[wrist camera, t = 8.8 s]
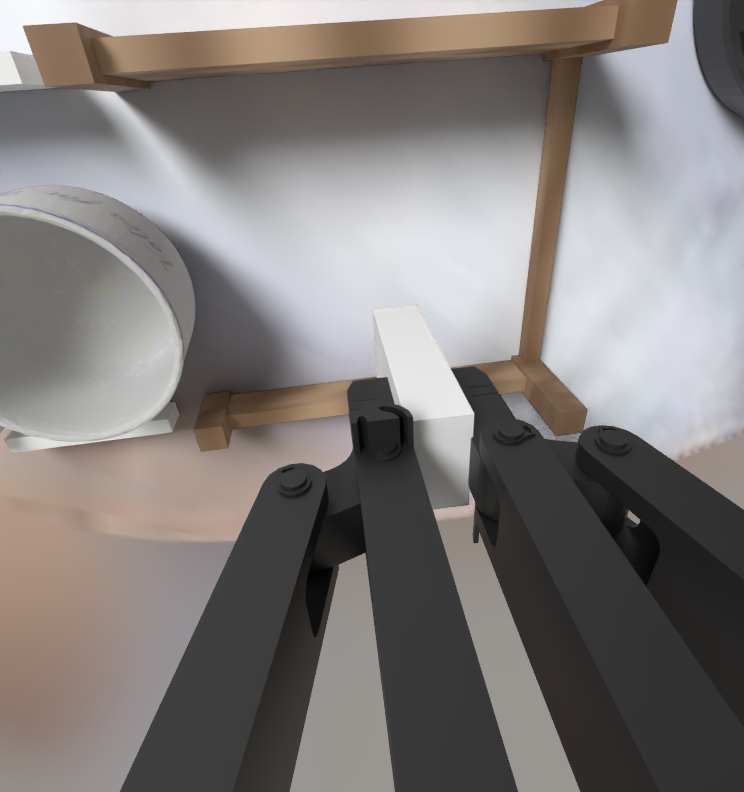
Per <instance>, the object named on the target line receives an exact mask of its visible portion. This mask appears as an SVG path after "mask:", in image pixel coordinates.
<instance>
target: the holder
mask: <svg viewBox="0 0 744 792" xmlns="http://www.w3.org/2000/svg"><path fill="white" fill-rule="evenodd" d="M47 88H57V87H45V86H44V83H43V80H42V77H41V75H40V72H39V69H38V67H37V64H36V61H35V58H34V56H33V55H28V54H22V53H17V52H12V51H5V52H0V92H5V91H19V90H33V89H47ZM178 417H179V412H178V409H177V406H176V403H175V402H169V403H168V405H167V406H166V407H165V408H164V409H163V410H162V411H161V412H160V413H159V414H158V415H157V416H156V417H154V418H153V419H152V420H151V421H149V422H148V423H146V424H144V425H143V426H141V427H139V428H137V429H135V430H133V431H130V432H128V433H126V434H123V435H120V436H117V437H112V438H108V439H103V440H98V441H80V442H67V441H55V440H50V439H45V438H38V437H33V436H29V435H25V434H22V433H19V432H16V431H11V433H10V434H9V435H8V436H7V437H6V438H5V439H4V440H5V442H6V444H7V445H8V447H9V449H10V450H11V452H12V453H15V452H23V451H31V450H38V449H46V448H54V447H62V446H69V445H77V444H85V443H93V442H101V441H108V440H116V439H124V438H132V437H140V436H147V435H155V434H163V433H171V432H173V430H174V427H175V424H176V422H177V419H178ZM3 429H4V427H2V426H0V433H1V431H2V430H3Z"/></svg>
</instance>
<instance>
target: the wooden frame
mask: <svg viewBox="0 0 744 792" xmlns="http://www.w3.org/2000/svg"><path fill="white" fill-rule="evenodd" d="M676 4H677V0H603V1H600V2H597V3H595V4H592V5H589V6H586V7H579V8H563V9H547V10H531V11H516V12H500V13H484V14H468V15H452V16H436V17H420V18H404V19H388V20H373V21H357V22H341V23H325V24H309V25H293V26H277V27H261V28H246V29H230V30H214V31H198V32H182V33H166V34H150V35H134V36H118V37H113V36H110V35H107V34H105V33H102V32H99V31H97V30H94V29H91V28H89V27H86V26H83V25H80V24H78V23H61V24H44V25H27V26H23V28H24V31H25V34H26V36H27V39H28V42H29V45H30V47H31V50H32V53H33V56H34V58H35V61H36V64H37V67H38V69H39V72H40V75H41V77H42V80H43V83H44V86H45V87H57V88H71V89H84V90H97V91H111V92H118V91H132V90H146V89H150V87H149V83H148V81H160V80H175V79H189V78H203V77H217V76H231V75H245V74H260V73H274V72H288V71H302V70H316V69H330V68H345V67H359V66H373V65H387V64H401V63H415V62H430V61H444V60H458V59H472V58H486V57H500V56H515V55H529V54H543V53H544V58H543V61H549V60H553V64H552V72H551V81H550V89H549V98H548V107H547V115H546V124H545V133H544V141H543V150H542V159H541V167H540V176H539V184H538V193H537V202H536V210H535V219H534V228H533V236H532V245H531V254H530V262H529V271H528V280H527V288H526V297H525V305H524V314H523V323H522V331H521V340H520V349H519V355H518V356H512V358H511V360H508V361H500V362H492V363H484V364H476V365H468V366H460V367H452V368H461V367H470V366H475V367H476V368H478V369H479V370H481V371H483V372H484V373H486V374H487V375H488V377H489V378H490V380H491V381H492V383H493V386H495V388H496V389H497V391H498V394H508V393H516V392H522V393H523V395H524V396H525V397H526V398H527V400H528V401H529V402H530V404H531V405H532V406H533V407H534V409H535V410H536V411H537V413H538V414H539V415H540V416H541V418H542V419H543V420H544V422H545V423H546V424H547V425H548V427H549V428H550V429H551V430H552V432H553V433H554V434H555V436H561V435H568V434H576V433H582V431H583V428H584V424H585V419H586V415H587V410H588V409H587V408H586V407H585V406H584V405H583V404H582V403H581V402H580V401H579V400H578V399H577V398H576V397H575V396H574V395H573V394H572V393H571V392H570V390H569V389H568V388H567V387H566V386H565V385H564V384H563V383H562V382H561V381H560V380H559V379H558V378H557V377H556V376H555V375H554V374H553V373H552V372H551V371H550V369H549V368H548V367H547V366H546V365H545V364H544V363H543V362H542V361H541V360H540V359H539V358H540V351H541V344H542V337H543V330H544V323H545V316H546V309H547V302H548V295H549V288H550V281H551V274H552V267H553V260H554V253H555V246H556V239H557V232H558V225H559V218H560V211H561V204H562V197H563V190H564V183H565V176H566V169H567V162H568V155H569V148H570V141H571V134H572V127H573V120H574V113H575V106H576V99H577V92H578V85H579V78H580V71H581V64H582V57H587V56H593V55H599V54H605V53H611V52H617V51H623V50H628V49H634V48H640V47H646V46H652V45H658V44H664V43H668V41H669V36H670V32H671V27H672V23H673V18H674V14H675V9H676ZM452 368H450V369H452ZM373 378H377V377H371V378H363V379H354V380H346V381H338V382H330V383H322V384H314V385H306V386H298V387H290V388H282V389H273V390H265V391H257V392H249V393H241V394H233V395H231V391H225V392H216V393H208V394H205V396H204V399H203V403H202V406H201V409H200V412H199V415H198V418H197V421H196V424H195V427H194V433H195V436H196V439H197V442H198V445H199V448H200V451H201V452H203V451H210V450H218V449H225V448H228V447H229V442H230V437H231V432H232V429H237V428H245V427H252V426H260V425H268V424H276V423H283V422H291V421H299V420H307V419H314V418H322V417H330V416H338V415H345V414H349V407H348V398H347V390H348V388H349V386H350V385H351V383H352V381H355V380H364V379H373Z"/></svg>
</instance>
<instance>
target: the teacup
mask: <svg viewBox="0 0 744 792" xmlns="http://www.w3.org/2000/svg"><path fill="white" fill-rule="evenodd" d="M195 312H196V309H195V295H194V290H193V285H192V282H191V278H190V275H189V273H188V270H187V268H186V266H185V264H184V262H183V260H182V258H181V257H180V255H179V253H178V252H177V250H176V248H175V247H174V246H173V244H172V243H171V242H170V241H169V239H168V238H167V237H166V236H165V235H164V234H163V233H162V232H161V231H160V230H159V229H158V228H157V227H156V226H155V225H154V224H153V223H152V222H151V221H149V220H148V219H147V218H146V217H144V216H143V215H142V214H140V213H139V212H137V211H136V210H134V209H133V208H131V207H129V206H127V205H126V204H124V203H122V202H120V201H118V200H116V199H114V198H111V197H108V196H106V195H103V194H101V193H98V192H94V191H91V190H87V189H82V188H78V187H71V186H63V185H41V186H32V187H26V188H21V189H16V190H12V191H9V192H5V193H2V194H0V426H2V427H4V428H7V429H9V430H11V431H16V432H19V433H22V434H25V435H29V436H33V437H38V438H45V439H50V440H55V441H67V442H80V441H98V440H103V439H108V438H112V437H117V436H120V435H123V434H126V433H128V432H130V431H133V430H135V429H137V428H139V427H141V426H143V425H144V424H146V423H148V422H149V421H151V420H152V419H153V418H154V417H156V416H157V415H158V414H159V413H160V412H161V411H162V410H163V409H164V408H165V407H166V406H167V405H168V403H169V402H170V400H171V399H172V397H173V395H174V393H175V391H176V389H177V387H178V385H179V383H180V379H181V376H182V372H183V368H184V359H185V357H186V354H187V350H188V347H189V344H190V340H191V337H192V333H193V329H194V322H195Z"/></svg>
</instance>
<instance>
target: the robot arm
mask: <svg viewBox="0 0 744 792" xmlns="http://www.w3.org/2000/svg"><path fill="white" fill-rule="evenodd" d="M694 30H695V39H696V46H697V51H698V55H699V60H700V63H701V66H702V69H703V72H704V74H705V77H706V79H707V81H708V83H709V85H710V87H711V88H712V90H713V91H714V93H715V94H716V96H717V97H718V98H719V99H720V101H721V102H722V103H723V104H724V105H725V106H726V107H727V108H729V109H730V110H731V111H732V112H734V113H735V114H737V115H739V116H740V117H742V118H744V0H694ZM372 311H373V325H374V340H375V355H376V369H377V378H373V379H364V380H355V381H352V383H351V385H350V386H349V388H348V390H347V398H348V407H349V417H350V426H351V435H352V443H353V451H352V453H351V455H350V456H349V457H348V459H347V460H346V461H345V462H343V463H342V464H341V465H339V466H337V467H335V468H333V469H331V470H328V471H325V472H322V471H321V470H320V469H319V468H317V467H315V466H313V465H309V464H304V463H300V464H290V465H287V466H284V467H281V468H279V469H277V470H276V471H274V472H273V473H271V474H270V475H269V476H268V478H267V479H266V480H265V482H264V483H263V485H262V487H261V489H260V491H259V494H258V496H257V498H256V500H255V502H254V504H253V506H252V509H251V511H250V513H249V515H248V517H247V519H246V521H245V524H244V526H243V528H242V530H241V532H240V534H239V537H238V539H237V541H236V543H235V545H234V547H233V550H232V552H231V554H230V556H229V558H228V560H227V562H226V565H225V567H224V569H223V571H222V573H221V575H220V577H219V580H218V582H217V584H216V586H215V588H214V590H213V592H212V595H211V597H210V599H209V601H208V604H207V605H206V608H205V610H204V612H203V614H202V616H201V618H200V620H199V623H198V625H197V627H196V629H195V631H194V633H193V636H192V638H191V640H190V642H189V644H188V646H187V648H186V651H185V653H184V655H183V657H182V659H181V661H180V663H179V666H178V668H177V670H176V672H175V674H174V676H173V678H172V681H171V683H170V685H169V687H168V689H167V691H166V694H165V696H164V698H163V700H162V702H161V704H160V706H159V709H158V711H157V713H156V715H155V717H154V719H153V722H152V724H151V726H150V728H149V730H148V732H147V735H146V737H145V739H144V741H143V743H142V746H141V747H140V749H139V752H138V754H137V756H136V758H135V760H134V763H133V765H132V767H131V769H130V771H129V773H128V775H127V777H126V780H125V782H124V784H123V786H122V788H121V790H120V792H289V791H290V787H291V782H292V778H293V773H294V769H295V764H296V760H297V755H298V751H299V746H300V742H301V737H302V733H303V728H304V724H305V719H306V714H307V710H308V706H309V701H310V697H311V691H312V687H313V683H314V679H315V674H316V669H317V665H318V661H319V656H320V651H321V647H322V642H323V638H324V633H325V629H326V624H327V620H328V615H329V611H330V606H331V602H332V597H333V593H334V588H335V584H336V579H337V575H338V570H339V564H341V563H343V562H345V561H347V560H350V559H352V558H354V557H356V556H359V555H361V554H363V553H366V560H367V567H368V568H367V569H368V577H369V585H370V593H371V601H372V609H373V617H374V625H375V633H376V641H377V650H378V658H379V666H380V674H381V682H382V690H383V698H384V707H385V715H386V723H387V731H388V739H389V747H390V755H391V763H392V772H393V780H394V787H395V792H518V790H517V787H516V783H515V780H514V777H513V773H512V770H511V767H510V763H509V760H508V757H507V754H506V750H505V747H504V744H503V740H502V737H501V734H500V730H499V727H498V724H497V721H496V717H495V714H494V711H493V707H492V704H491V701H490V697H489V694H488V691H487V688H486V684H485V681H484V677H483V674H482V671H481V668H480V665H479V661H478V658H477V654H476V651H475V648H474V645H473V641H472V638H471V634H470V631H469V628H468V625H467V621H466V618H465V615H464V611H463V608H462V605H461V602H460V598H459V595H458V592H457V588H456V585H455V582H454V578H453V575H452V572H451V569H450V565H449V562H448V558H447V555H446V552H445V549H444V545H443V542H442V539H441V535H440V532H439V529H438V525H437V522H436V519H435V515H434V512H433V509H440V508H448V507H456V506H464V505H469V491H471V493H472V495H473V498H474V500H475V512H474V527H473V542H474V543H478V539H479V532H480V535H481V537H482V539H483V542H484V545H485V547H486V550H487V552H488V555H489V558H490V560H491V563H492V565H493V568H494V571H495V573H496V576H497V578H498V581H499V583H500V586H501V589H502V591H503V594H504V596H505V599H506V601H507V604H508V607H509V609H510V612H511V614H512V617H513V619H514V622H515V625H516V627H517V630H518V632H519V635H520V637H521V640H522V643H523V645H524V648H525V650H526V653H527V655H528V658H529V660H530V663H531V666H532V668H533V671H534V673H535V676H536V679H537V681H538V684H539V686H540V689H541V691H542V694H543V696H544V699H545V702H546V704H547V707H548V709H549V712H550V714H551V717H552V720H553V722H554V725H555V728H556V730H557V733H558V735H559V738H560V740H561V743H562V746H563V748H564V751H565V753H566V755H567V758H568V761H569V764H570V766H571V769H572V771H573V774H574V776H575V779H576V782H577V784H578V787H579V789H580V792H744V510H743V509H742V508H740V507H739V506H737V505H736V504H735V503H733V502H731V501H730V500H729V499H727V498H726V497H724V496H723V495H722V494H720V493H719V492H717V491H716V490H714V489H713V488H712V487H710V486H708V485H707V484H706V483H704V482H703V481H701V480H700V479H699V478H697V477H695V476H694V475H693V474H691V473H690V472H688V471H687V470H686V469H684V468H683V467H681V466H680V465H678V464H677V463H675V462H674V461H673V460H671V459H670V458H668V457H667V456H665V455H664V454H663V453H661V452H660V451H658V450H657V449H655V448H654V447H652V446H651V445H650V444H648V443H647V442H645V441H644V440H642V439H641V438H639V437H638V436H636V435H635V434H633V433H631V432H629V431H627V430H624V429H621V428H617V427H614V426H602V425H601V426H594V427H589V428H587V429H586V430H584V431H582V433H581V435H580V436H579V440H578V443H576V442H565V441H555V440H549V439H544V438H543V437H542V435H541V434H540V432H539V431H538V430H537V429H536V428H535V427H534V426H533V425H530V424H528V423H526V422H524V421H521V420H517V419H516V418H515V417H514V415H513V414H512V412H511V411H510V409H509V408H508V406H507V405H506V403H505V401H504V400H503V398H502V397H501V395H500V394H498V391H497V389H496V388H495V386H493V383H492V381H491V380H490V378H489V377H488V375H487V374H486V373H484V372H483V371H481V370H479V369H478V368H476V367H475V366H470V367H461V368H452V369H450V367H449V365H448V363H447V361H446V359H445V357H444V355H443V353H442V351H441V350H440V348H439V346H438V344H437V342H436V340H435V338H434V336H433V334H432V332H431V331H430V329H429V327H428V325H427V323H426V321H425V319H424V317H423V315H422V313H421V312H420V310H419V308H418V306H417V305H407V306H398V307H388V308H378V309H372ZM629 510H630V511H631V512H632V513H633V514H635V515H636V516H637V517H638V518H639V519H640V523H639V524H636V523H634V522H633V521H632V520H630V519H629V518H628V517H627V515H628V511H629Z"/></svg>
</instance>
